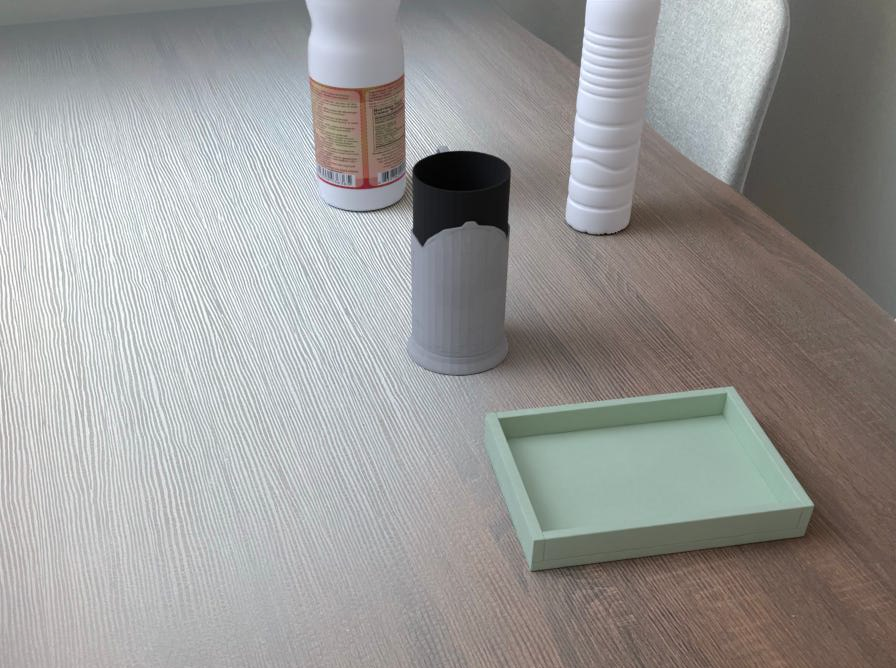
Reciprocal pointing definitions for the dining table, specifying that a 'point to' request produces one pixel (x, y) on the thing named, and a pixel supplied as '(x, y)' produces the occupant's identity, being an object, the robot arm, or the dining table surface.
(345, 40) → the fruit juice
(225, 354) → the dining table surface
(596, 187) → the water bottle
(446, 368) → the glass holder
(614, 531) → the rectangular tray
